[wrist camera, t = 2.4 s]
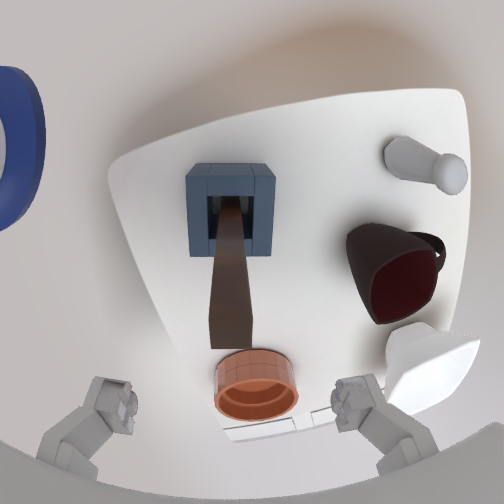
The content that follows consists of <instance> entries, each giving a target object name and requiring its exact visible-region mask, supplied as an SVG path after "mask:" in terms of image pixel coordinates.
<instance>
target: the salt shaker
mask: <svg viewBox="0 0 504 504" xmlns="http://www.w3.org/2000/svg"><path fill="white" fill-rule="evenodd" d="M384 155H385V164H386V166H387V168H388V169H389V170H390V172H391V173H392V174H393V175H394V176H396V177H397V178H399V179H401V180H409V181H416V182H423V183H430V184H436V186H437V188H438V189H439V190H441V191H443V192H444V193H446V194H448V195H457V194H458V193H460V192H461V191H462V190H463V189H464V187H465V185H466V183H467V178H468V173H467V167H466V165H465V163H464V160H462V159H461V158H460V157H458V156H456V155H455V154H443V155H440V154H438V153H437V152H435V151H433V150H431V149H429V148H428V147H426V146H424V145H422V144H420V143H419V142H417V141H415V140H413V139H411V138H410V137H397V138H395V139H394V140H392V141H391V142H390V143H389V145H388V146H387V147H386V148H385V149H384Z"/></svg>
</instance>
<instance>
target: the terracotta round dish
mask: <svg viewBox="0 0 504 504" xmlns="http://www.w3.org/2000/svg"><path fill="white" fill-rule="evenodd" d="M298 397H299V395H298V391H297V386H296V382H295V377H294V373H293V369H292V366H291V363H290V362H289V361H288V360H287V359H286V358H285V357H284V356H282V355H280V354H278V353H275V352H272V351H266V350H248V351H244V352H239V353H236V354H234V355H231V356H229V357H227V358H226V359H224V360H223V361H222V362H221V363H220V364H219V365H218V367H217V369H216V371H215V388H214V402H215V407H216V408H217V410H218V411H219V412H220V413H221V414H223V415H225V416H226V417H228V418H232V419H235V420H239V421H248V422H253V421H264V420H269V419H273V418H276V417H278V416H281V415H283V414H285V413H287V412H288V411H290V410H291V409H292V408H293V407H294V406H295V405H296V403H297V401H298Z"/></svg>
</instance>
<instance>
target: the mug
mask: <svg viewBox="0 0 504 504" xmlns="http://www.w3.org/2000/svg"><path fill="white" fill-rule="evenodd" d="M346 248H347V255H348V260H349V265H350V268H351V272H352V275H353V278H354V281H355V284H356V286H357V289H358V292H359V294H360V297H361V299H362V301H363V303H364V305H365V307H366V309H367V311H368V313H369V315H370V316H371V318H372V319H373V321H374V322H375V323H376V324H378V325H380V324H389V323H393V322H396V321H399V320H402V319H404V318H406V317H409V316H410V315H412V314H414V313H415V312H417V311H418V310H420V309H421V308H422V307H424V306H425V305H426V304H427V303H428V302H429V301H430V300H431V298H432V296H433V293H434V290H435V287H436V283H437V278H438V272H439V271H440V270H441V269H442V267H443V265H444V262H445V258H446V250H445V245H444V243H443V241H442V240H441V239H440V238H438V237H436V236H434V235H431V234H428V233H422V232H406V231H403V230H401V229H398V228H395V227H392V226H388V225H383V224H374V223H372V224H365V225H362V226H359V227H357V228H356V229H354V230H353V231H351V232H350V233H349V234H348V236H347V243H346ZM435 252H437V253H438V254H440V256H439V257H437V256H436V253H435Z"/></svg>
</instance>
